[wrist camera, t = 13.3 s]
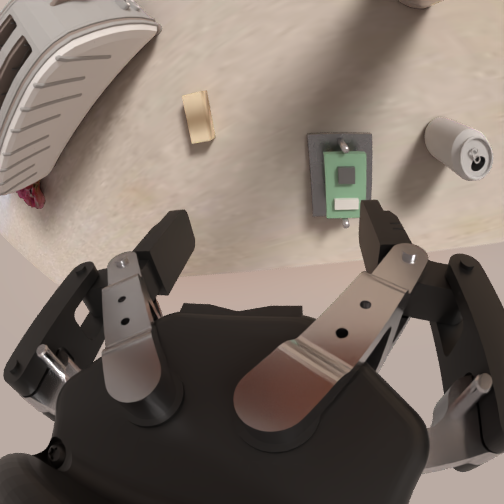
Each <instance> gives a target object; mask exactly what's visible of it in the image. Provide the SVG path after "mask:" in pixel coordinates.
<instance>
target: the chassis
mask: <svg viewBox="0 0 504 504" xmlns="http://www.w3.org/2000/svg"><path fill="white" fill-rule="evenodd" d="M307 137H308V148H309V160H310V173H311V188H312V205H313V216H326V192H325V171H324V154H323V152H335V151H343V152H344V153H348V152H349V151H364V152H365V153H366V200H371V190H372V134H371V133H309V134H307ZM341 219H342V223H343V227H344V228H348V227H349V221H348V218H341Z"/></svg>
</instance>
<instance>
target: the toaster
mask: <svg viewBox="0 0 504 504" xmlns="http://www.w3.org/2000/svg"><path fill="white" fill-rule="evenodd" d="M161 31H162V26H161V25H160V24H157V23H156V22H155V19H154V18H152V17H150V16H149V15H148V14H147V13H146V12H145V11H144V10H143V9H142V8H141V7H140V6H139V5H138V4H137V3H136V2H135V1H134V0H10V1H9V2H8V3H7V4H6V6H5V7H4V8H3V9H2V10H1V12H0V195H7V194H10V193H13V192H16V191H18V190H21V189H23V188H25V187H27V186H29V185H31V184H33V183H35V182H37V181H38V180H40V179H42V178H44V177H45V176H47V175H48V174H49V173H50V172H51V170H52V168H53V167H55V165H56V161H57V159H58V158H59V156H60V154H61V152H62V151H63V149H64V147H65V146H66V144H67V143H68V141H69V139H70V138H71V136H72V135H73V133H74V131H75V130H76V128H77V127H78V125H79V124H80V122H81V121H82V120H83V118H84V117H85V115H86V114H87V112H88V111H89V110H90V108H91V107H92V106H93V104H94V103H95V102H96V100H97V99H98V98H99V96H100V95H101V94H102V92H103V91H104V90H105V89H106V87H107V86H108V85H109V84H110V83H111V81H112V80H113V79H114V78H115V77H116V75H117V74H118V73H119V72H120V71H121V70H122V69H123V68H124V66H125V65H126V64H127V63H128V62H129V61H130V60H131V59H132V58H133V57H134V56H135V55H136V54H137V53H138V51H139V50H140V49H141V48H142V47H143V46H144V45H145V44H146V43H148V42H149V41H150V40H151V39H152V38H153V37H154V36H155V35H158V34H159V33H160V32H161Z"/></svg>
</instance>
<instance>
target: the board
mask: <svg viewBox="0 0 504 504" xmlns="http://www.w3.org/2000/svg"><path fill="white" fill-rule="evenodd" d="M323 154H324V171H325V192H326V216H327V218H360V202H361V200H366V153H365V152H364V151H349V152H348V153H344V152H343V151H335V152H323Z"/></svg>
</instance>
